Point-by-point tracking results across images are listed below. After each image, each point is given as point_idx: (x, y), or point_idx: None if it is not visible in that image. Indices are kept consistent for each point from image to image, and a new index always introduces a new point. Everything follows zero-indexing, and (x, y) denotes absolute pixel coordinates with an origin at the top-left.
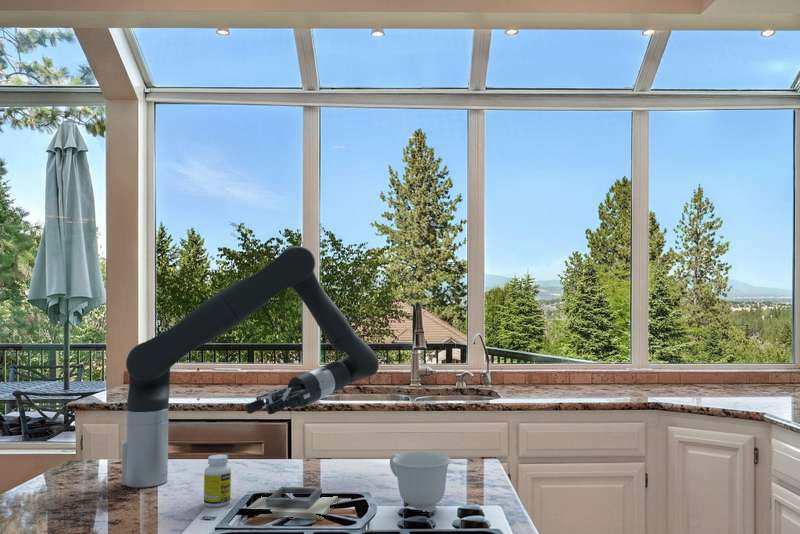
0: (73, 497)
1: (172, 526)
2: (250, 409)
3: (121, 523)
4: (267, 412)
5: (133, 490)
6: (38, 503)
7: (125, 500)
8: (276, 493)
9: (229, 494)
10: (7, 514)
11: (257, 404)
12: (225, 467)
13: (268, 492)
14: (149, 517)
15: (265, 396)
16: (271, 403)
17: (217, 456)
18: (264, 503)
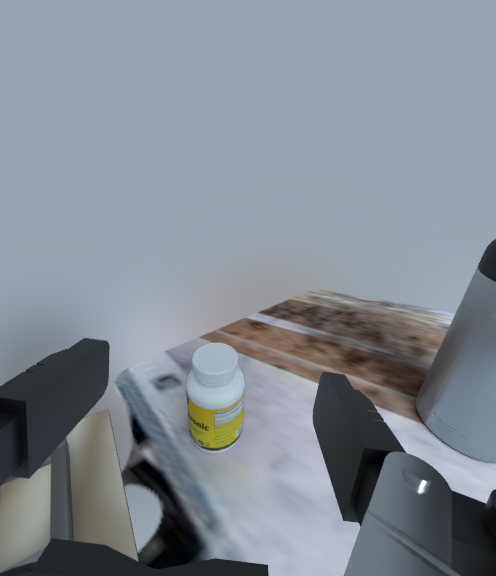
0: (399, 335)
1: (185, 345)
2: (319, 408)
3: (247, 326)
4: (108, 375)
5: (405, 386)
6: (387, 314)
7: (345, 359)
8: (55, 483)
9: (191, 429)
10: (357, 296)
11: (342, 445)
12: (193, 379)
13: (128, 539)
14: (242, 346)
15: (424, 530)
16: (75, 351)
17: (216, 356)
18: (84, 459)
